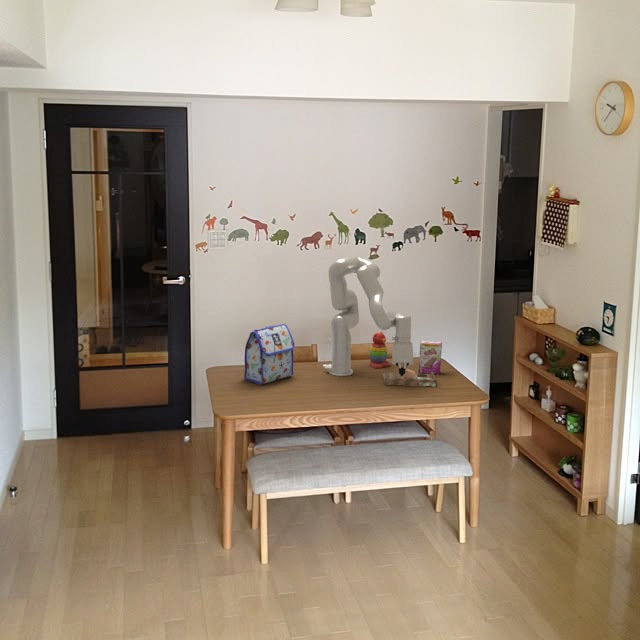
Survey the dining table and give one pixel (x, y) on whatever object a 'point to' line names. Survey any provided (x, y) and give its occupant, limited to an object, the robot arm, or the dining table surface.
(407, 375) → the block
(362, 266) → the robot arm
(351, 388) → the dining table surface
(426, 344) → the candy bar box
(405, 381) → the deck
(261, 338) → the lunch bag
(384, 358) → the stacking bear
